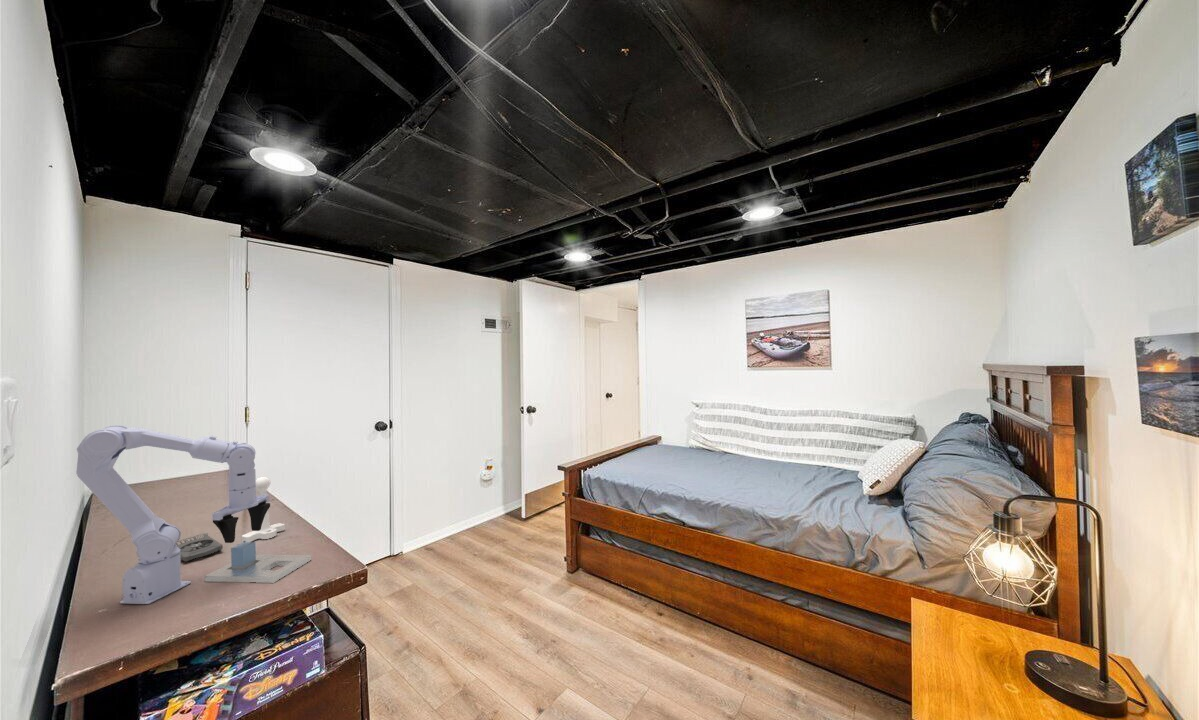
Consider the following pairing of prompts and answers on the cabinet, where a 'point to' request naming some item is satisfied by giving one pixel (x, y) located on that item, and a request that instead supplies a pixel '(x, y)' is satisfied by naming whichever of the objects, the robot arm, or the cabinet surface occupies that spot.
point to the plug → (243, 555)
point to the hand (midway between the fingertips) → (243, 536)
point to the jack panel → (260, 569)
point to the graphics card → (198, 547)
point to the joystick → (266, 528)
